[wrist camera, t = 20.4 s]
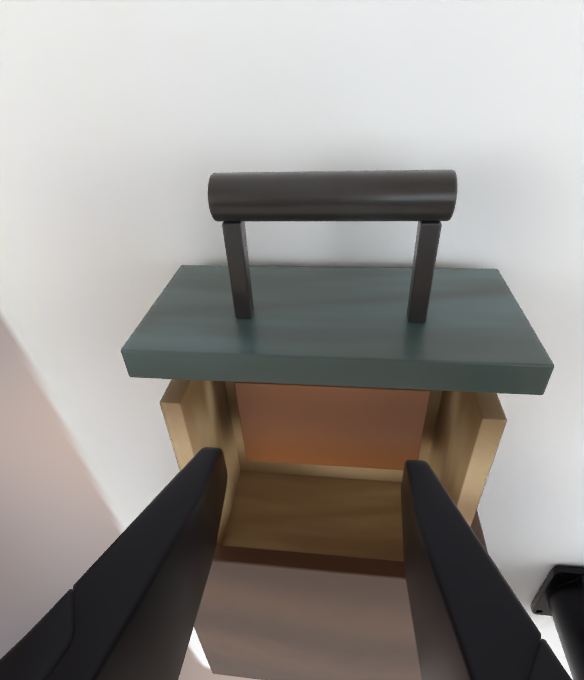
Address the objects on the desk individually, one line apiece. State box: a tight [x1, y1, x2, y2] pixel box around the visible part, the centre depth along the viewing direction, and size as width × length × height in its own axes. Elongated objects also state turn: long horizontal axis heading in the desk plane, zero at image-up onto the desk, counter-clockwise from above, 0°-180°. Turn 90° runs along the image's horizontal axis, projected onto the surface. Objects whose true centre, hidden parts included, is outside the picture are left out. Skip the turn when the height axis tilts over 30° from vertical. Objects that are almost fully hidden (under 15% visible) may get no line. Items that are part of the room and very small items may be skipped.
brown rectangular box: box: [234, 382, 431, 470], centre depth 20 cm, size 5×8×2 cm, turn 93°
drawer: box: [121, 170, 554, 562], centre depth 19 cm, size 18×13×6 cm
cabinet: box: [194, 509, 488, 680], centre depth 27 cm, size 15×15×8 cm
